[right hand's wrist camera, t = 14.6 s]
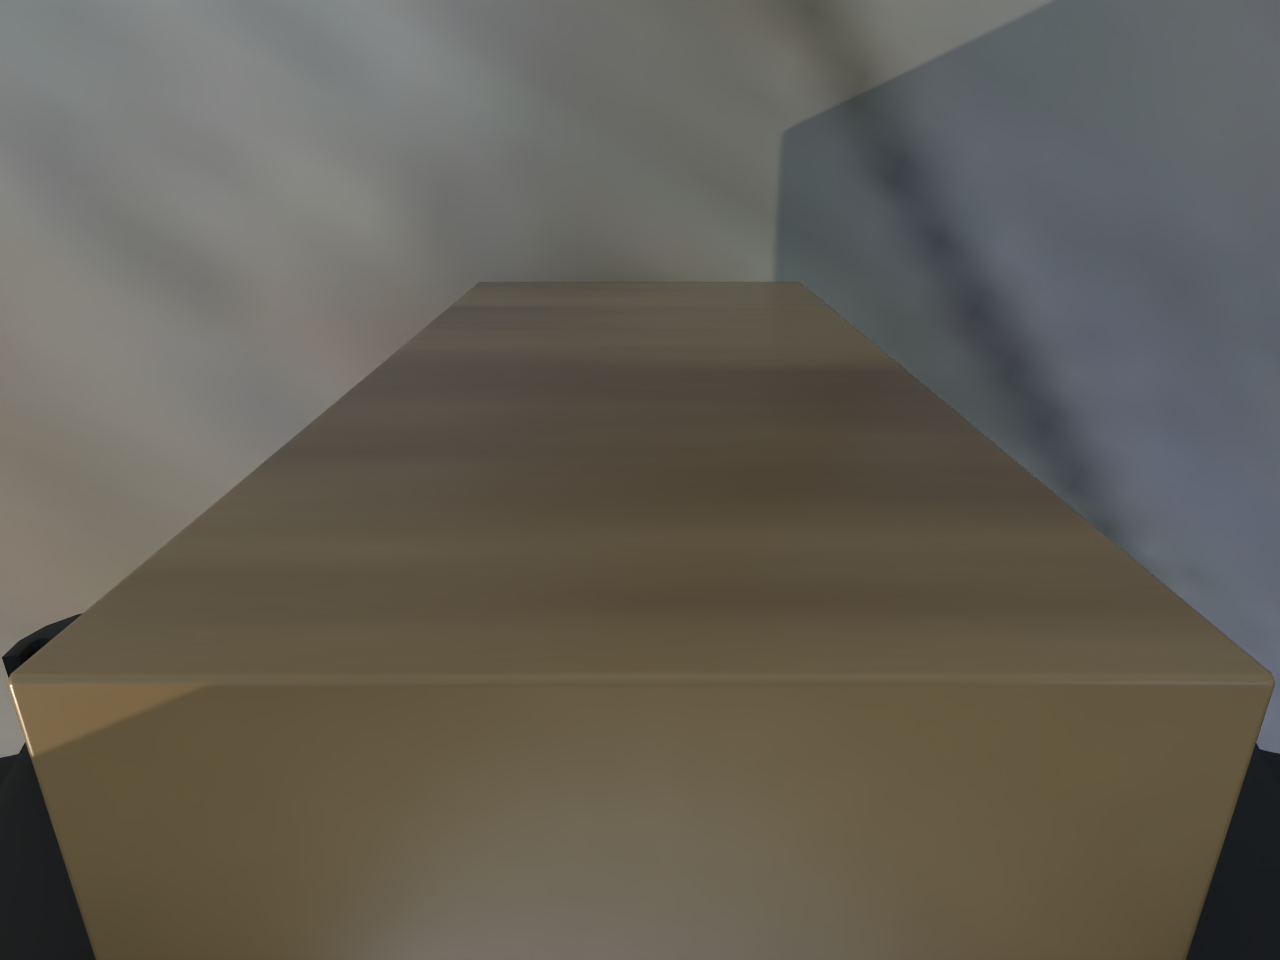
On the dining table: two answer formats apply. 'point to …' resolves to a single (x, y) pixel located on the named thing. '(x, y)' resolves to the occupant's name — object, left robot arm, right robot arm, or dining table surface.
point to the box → (640, 671)
